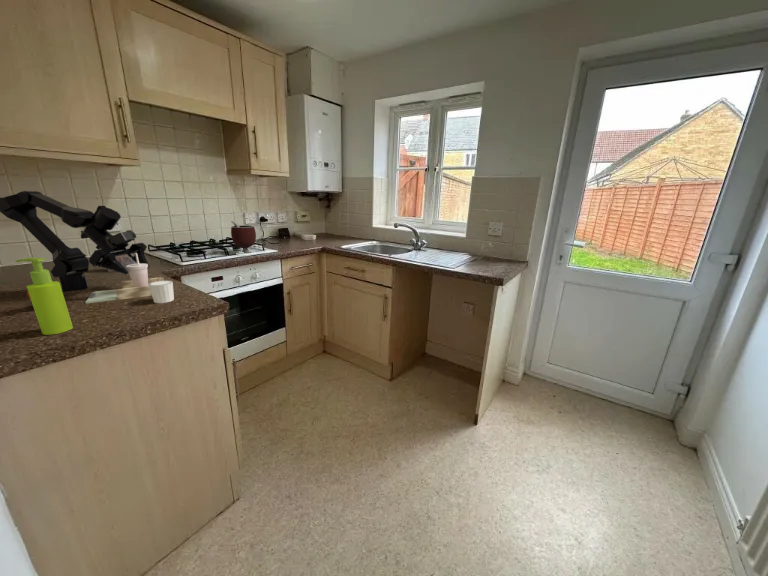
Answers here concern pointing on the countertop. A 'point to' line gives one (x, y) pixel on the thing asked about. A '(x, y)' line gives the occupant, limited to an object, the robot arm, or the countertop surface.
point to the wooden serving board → (135, 289)
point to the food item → (124, 261)
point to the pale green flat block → (102, 296)
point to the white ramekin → (162, 291)
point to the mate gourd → (243, 236)
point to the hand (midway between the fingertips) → (138, 270)
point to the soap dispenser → (47, 300)
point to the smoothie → (138, 273)
